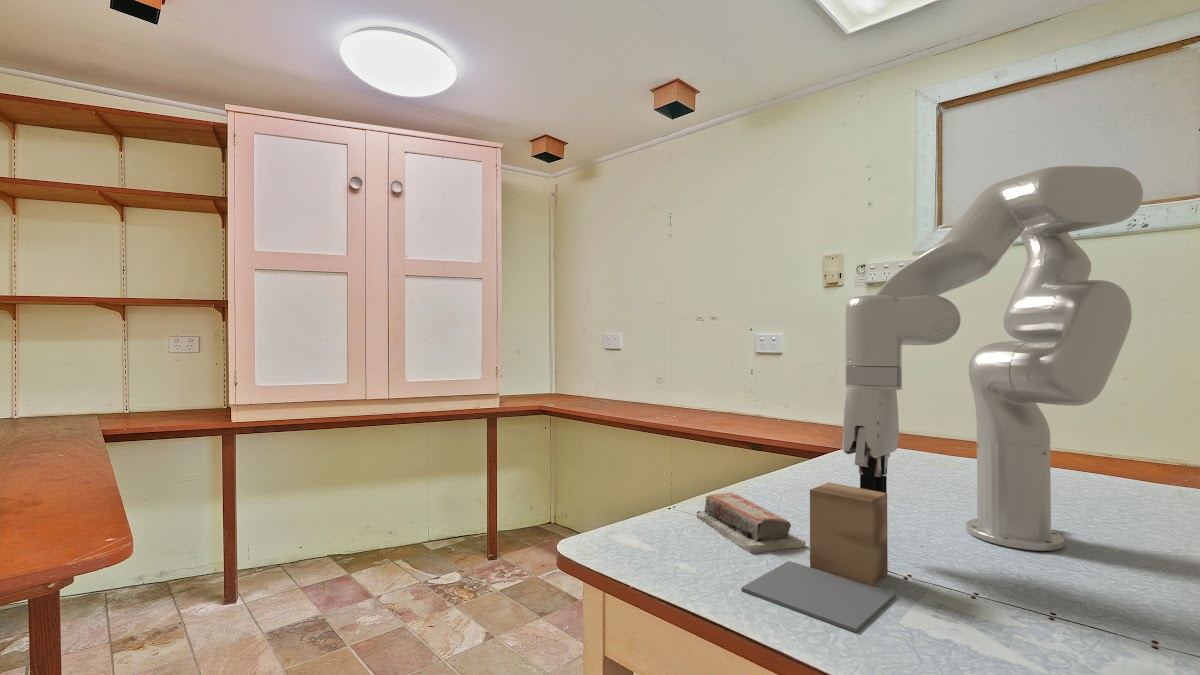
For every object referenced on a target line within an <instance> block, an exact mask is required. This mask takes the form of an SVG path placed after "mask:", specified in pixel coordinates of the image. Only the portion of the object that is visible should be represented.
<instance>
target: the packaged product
mask: <svg viewBox="0 0 1200 675" xmlns="http://www.w3.org/2000/svg"><path fill="white" fill-rule="evenodd" d="M697 518H698V519H697ZM696 519H697V520H699V519H700V520H702V521H703V522H702V521H701V522H702V523H704V522H705V523H706V524H708V525H709V526H710V527H712V528H714V529H715V530H716V531H718V532H719V533H720V534H719V533H718V532H717V533H718V534H719V535H721V534H722V535H723V536H722V535H721V536H722V537H724V538H725V537H726V538H725V539H727V540H728V539H729V540H728V541H730V542H731V541H732V542H731V543H732V544H734V543H735V544H734V545H736V546H737V547H739V548H740V549H742V550H744V551H745V552H747V551H748V552H747V553H748V554H754V552H757V553H762V552H761V551H766V552H772V550H775V551H781V550H789V549H798V548H804V547H806V541H805V540H803V539H800V538H799V537H798V536H796V535H794V534H791V533H790V529H791V527H792V524H791V522H790V521H789V520H787V519H785V518H783V517H782V516H780V515H778V514H776V513H774V512H771V511H770V510H767V508H764V507H763V506H761V505H758V504H756V503H755V502H753V501H752V500H749V499H748V498H745V497H743V496H742V495H739V494H737V493H733V492H727V493H716V494H708V495H706V497H705V505H704V510H703V511H701V510H698V511H696ZM700 520H699V521H700ZM705 523H704V524H705ZM706 524H705V525H706ZM708 525H707V526H708ZM709 526H708V527H709ZM710 527H709V528H710ZM712 528H711V529H712ZM715 530H714V531H715ZM716 531H715V532H716ZM752 552H753V553H752Z"/></svg>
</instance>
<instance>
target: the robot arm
mask: <svg viewBox="0 0 1200 675" xmlns="http://www.w3.org/2000/svg"><path fill="white" fill-rule="evenodd" d="M1143 199H1144V190H1143V185H1142V183H1141V182H1140V180H1139V179H1138V177H1137V176H1136V175H1135V174H1134V173H1132V172H1131V171H1129V170H1127V169H1125V168H1121V167H1118V166H1095V165H1094V166H1091V165H1090V166H1089V165H1086V166H1085V165H1060V166H1059V165H1058V166H1050V167H1044V168H1042V169H1038V170H1034V171H1030V172H1027V173H1024V174H1021V175H1018V176H1014V177H1011V178H1008V179H1004V180H1001V181H998V182H995V183H994V184H992V185H990V186H988V187H987V188H985V189H983V191H982V192H981V193H980V194H979V195H978V196H977V197H976V198H975V199H974V201H973V202H972V203H971V204H970V206H969V207H968V208H967V209H966V210H965V211H964V213H963V214H962V215H961V217H960V218H959V219H958V220H957V221H956V222H955V224H954V225H953V226H952V228H951V229H950V230H949V231H948V232H947V234H946V235H945V236H944V237H943V239H941V241H940V242H938V243H937V244H935V245H934V246H933V247H931V248H929V249H928V250H926V251H924V252H923V253H921V255H919V256H918V257H917V258H915V259H914V260H912V261H911V262H909V263H908V264H907V265H905V266H904V267H902V268H901V269H900V270H898V271H897V272H896V273H894V274H893V275H892V276H891V277H890V278H889V279H888V280H887V281H886V282H885V283H883V285H882V286H881V288H879V290H878V291H877V292H876V294H871V295H860V296H854V297H851V298H850V299H849V300H848V301H847V302H846V305H845V388H847V390H846V395H845V401H844V410H843V423H842V424H843V425H842V451H843V452H844V454H845V455H852V454H855V457H854V465H855V466H856V467H857V466H858V471H859V488H862V489H867V490H873V491H878V492H884V493H887V494H888V492H887V490H888V489H887V483H888V482H887V480H888V479H887V478H888V476H887V474H888V461H889V459H890V458H891V457H890V456H891V453H893V452H895V451H896V450H897V449H898V447H899V435H900V434H899V431H900V430H899V428H900V427H899V426H900V424H899V407H898V404H899V403H898V393H897V391H899V390H902V389H903V384H902V381H903V379H902V378H903V377H902V375H903V372H902V370H903V369H902V368H903V367H902V366H903V363H902V356H903V355H902V351H903V350H902V349H903V348H902V347H903V346H932V345H933V346H934V345H939V344H942V343H946V341H949V340H950V339H952V338H953V337H954V336H955V335H956V333H957V332H958V331H959V328H960V326H961V321H962V320H961V314H960V311H959V309H958V307H957V306H956V304H954V302H952V301H951V300H950V299H947V298H945V297H943V296H941V295H942V294H945V293H947V292H950V291H953V290H955V289H958V288H960V287H963V286H965V285H968V284H970V283H973V282H975V281H977V280H979V279H980V278H983V277H985V276H987V275H988V274H990V273H991V272H992V271H993V270H994V269H995V268H996V267H997V265H998V264H999V263H1000V261H1001V260H1002V259H1003V257H1004V256H1005V255H1006V253H1008V251H1009V250H1010V249H1011V247H1012V246H1013V245H1014V244H1015V242H1016V241H1017V240H1018V239H1019V237H1020V238H1021V241H1022V243H1023V245H1024V249H1025V252H1026V258H1027V259H1026V260H1027V261H1026V264H1025V267H1024V269H1023V273H1022V275H1021V276H1020V279H1019V281H1018V283H1017V285H1016V287H1015V289H1014V291H1013V294H1012V296H1011V298H1010V300H1009V303H1008V305H1007V307H1006V309H1005V312H1004V315H1003V328H1004V330H1005V331H1006V333H1007V334H1008V335H1009V336H1010V337H1011V338H1013V339H1015V340H1017V341H1015V340H1014V341H1013V340H1012V341H1007V340H1006V341H997V342H993V343H988V344H986V345H983V346H982V347H980V348H978V349H977V350H976V351H975V352H974V353H973V355H972V356H971V358H970V360H969V364H968V376H969V382H970V385H971V389H972V391H971V392H972V393H973V400H974V404H975V405H974V406H975V415H976V490H977V491H976V493H977V494H976V495H977V496H976V500H977V502H976V503H977V504H976V507H977V511H976V512H977V513H976V514H977V518H972V519H970V520H968V521H966V524H965V526H966V528H965V529H966V531H967V532H968V533H969V534H970V535H971V536H973V537H975V538H978V539H980V540H983V541H986V542H988V543H993V544H995V545H999V546H1004V547H1008V548H1013V549H1021V550H1026V551H1039V552H1040V551H1043V552H1045V551H1047V552H1048V551H1058V550H1061V549H1063V548H1064V547H1065V538H1064V537H1063V536H1062V535H1061V534H1060V533H1059V532H1057V531H1054V530H1052V515H1051V514H1052V503H1051V501H1052V499H1051V496H1052V494H1051V492H1052V490H1051V431H1050V427H1049V423H1048V421H1047V419H1046V416H1045V414H1044V413H1043V412H1042V410H1041V409H1040V406H1039V405H1038V404H1043V405H1044V404H1046V405H1056V406H1068V407H1069V406H1070V407H1071V406H1072V407H1073V406H1076V407H1077V406H1083V405H1086V404H1089V403H1091V402H1093V401H1094V400H1096V399H1097V398H1098V397H1099V396H1100V394H1101V392H1102V391H1103V390H1104V388H1105V386H1106V384H1107V382H1108V380H1109V378H1110V375H1111V373H1112V371H1113V368H1114V366H1115V364H1116V362H1117V359H1118V357H1119V355H1120V352H1121V349H1122V348H1123V345H1124V342H1125V341H1126V339H1127V336H1128V333H1129V330H1130V327H1131V323H1132V315H1133V314H1132V312H1133V311H1132V310H1133V309H1132V304H1131V303H1132V302H1131V300H1130V297H1129V295H1128V294H1127V292H1126V291H1125V290H1124V289H1123V288H1122V287H1121V286H1119V284H1118V285H1117V284H1116V283H1114V282H1111V281H1109V280H1103V279H1102V280H1101V279H1089V278H1090V274H1091V272H1092V262H1091V260H1090V257H1089V256H1088V255H1087V253H1086V252H1085V251H1084V249H1083V248H1082V247H1081V246H1080V245H1079V244H1078V243H1076V241H1075V240H1074V239H1073V237H1072V236H1071V234H1070V233H1073V232H1078V231H1082V230H1088V229H1094V228H1099V227H1104V226H1110V225H1115V224H1118V223H1121V222H1123V221H1126V220H1128V219H1129V218H1131V217H1132V216H1133V215H1135V213H1136V212H1138V210H1139V208H1140V206H1141V205H1142V202H1143Z"/></svg>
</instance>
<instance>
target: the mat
mask: <svg viewBox="0 0 1200 675" xmlns="http://www.w3.org/2000/svg"><path fill="white" fill-rule="evenodd" d="M740 589H741V591H742V592H744V593H746V594H749V595H752V596H755V597H758V598H760V599H763V600H766V601H769V602H771V603H774V604H777V605H779V606H782V607H785V608H787V609H791V610H793V611H796V612H799V613H802V614H804V615H807V616H809V617H812V618H815V619H818V620H819V621H820V620H821V621H822V622H823V621H824V622H826V623H828V624H831V625H834V626H836V627H840V628H841V629H842V628H843V629H845V630H847V631H850V632H853V633H857V632H858V631H860V630H861V629H862V628H863V627H864V626H865V625H866V624H867V623H868V622H870V620H872V619H873V617H875V616H876V615H877V614H878V613H880V611H881V610H882V609H884V608H885V607H886V606H887V605H888V604H889V603H890V602H891V601H893V599H895V598H896V595H897V594H896V592H893V591H891V590H890V591H889V590H887V589H884V588H883V589H882V588H880V587H876V586H875V585H874V586H870V585H867V584H864V583H860V582H857V581H854V580H851V579H847V578H844V577H841V576H837V575H834V574H831V573H827V572H824V571H821V570H817V569H814V568H811V567H810V566H808V565H807V566H806V565H803V564H800V563H798V562H793V561H791V560H788V561H786V562H784V563H782V564H781V565H779V566H777V567H775V568H774V569H772V570H770V571H768V572H767V573H764V574H762V575H761V576H759V577H757V578H756V579H754V580H752V581H750V582H749V583H746V584H745V585H743V586H742V587H741V588H740Z"/></svg>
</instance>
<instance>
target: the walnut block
mask: <svg viewBox="0 0 1200 675" xmlns="http://www.w3.org/2000/svg"><path fill="white" fill-rule="evenodd" d="M888 560H889V559H888V492H887V493H884V492H878V491H873V490H867V489H862V488H860V487H855V486H850V485H845V484H839V483H834V482H826V483H823V484H821V485H819V486H815V487H812V488H811V489H809V567H811V568H814V569H817V570H821V571H824V572H827V573H831V574H834V575H837V576H841V577H844V578H847V579H851V580H854V581H857V582H860V583H864V584H867V585H870V586H874V587H875V585H877V584H878V583H879V582H881V581H882V580H883V579H885V578H886V576H888V575H889V574H888V569H889V568H888V563H889V562H888Z"/></svg>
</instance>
